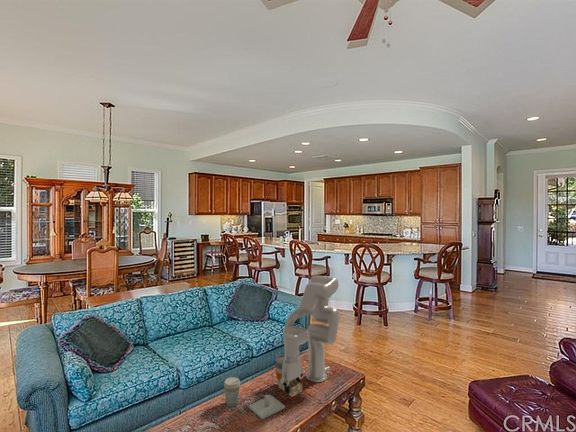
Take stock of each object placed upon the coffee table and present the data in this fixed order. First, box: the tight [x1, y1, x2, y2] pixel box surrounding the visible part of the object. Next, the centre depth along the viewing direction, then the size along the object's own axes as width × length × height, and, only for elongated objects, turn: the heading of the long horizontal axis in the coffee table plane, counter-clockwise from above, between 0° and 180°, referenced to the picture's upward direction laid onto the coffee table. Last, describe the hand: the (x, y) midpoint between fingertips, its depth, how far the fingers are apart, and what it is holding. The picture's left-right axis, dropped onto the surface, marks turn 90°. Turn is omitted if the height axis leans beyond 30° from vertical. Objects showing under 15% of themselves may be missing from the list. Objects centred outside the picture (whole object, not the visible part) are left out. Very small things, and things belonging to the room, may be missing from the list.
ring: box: [282, 379, 303, 398], centre depth 168 cm, size 7×7×4 cm
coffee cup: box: [223, 376, 241, 408], centre depth 166 cm, size 8×8×12 cm
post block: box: [248, 394, 286, 420], centre depth 163 cm, size 14×12×6 cm
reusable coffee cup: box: [274, 354, 296, 391], centre depth 183 cm, size 13×13×15 cm
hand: (292, 389), depth 168 cm, fingers closed on ring, 7 cm apart
